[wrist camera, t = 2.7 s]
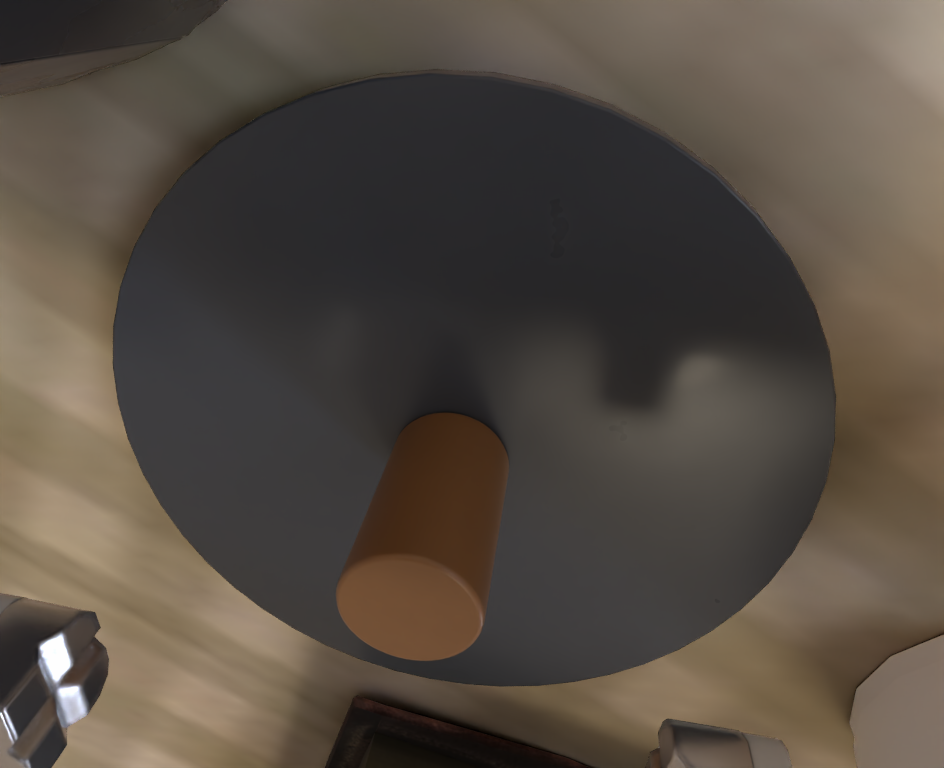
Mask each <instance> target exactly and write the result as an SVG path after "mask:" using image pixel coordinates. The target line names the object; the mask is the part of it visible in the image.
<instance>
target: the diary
mask: <svg viewBox="0 0 944 768" xmlns="http://www.w3.org/2000/svg"><path fill="white" fill-rule="evenodd" d="M325 768H589V767H587V766H585V765H582V764H580V763H578V762H576V761H573V760H571V759H569V758H566V757H563V756H559V755H556V754H552V753H549V752H545V751H542V750H538V749H535V748H531V747H528V746H525V745H521V744H518V743H514V742H511V741H507V740H504V739H500V738H497V737H493V736H490V735H487V734H483V733H480V732H476V731H473V730H469V729H466V728H462V727H459V726H455V725H452V724H449V723H445V722H442V721H438V720H435V719H431V718H428V717H424V716H421V715H417V714H414V713H411V712H407V711H404V710H400V709H397V708H393V707H390V706H386V705H383V704H380V703H377V702H375V701H372V700H369V699H366V698H363V697H360V696H356V697H355V698H353V700H352V703H351V705H350V708H349V710H348V712H347V715H346V717H345V720H344V722H343V725H342V727H341V729H340V732H339V734H338V737H337V739H336V741H335V744H334V746H333V749H332V751H331V754H330V756H329V758H328V761H327V763H326V766H325Z"/></svg>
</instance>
